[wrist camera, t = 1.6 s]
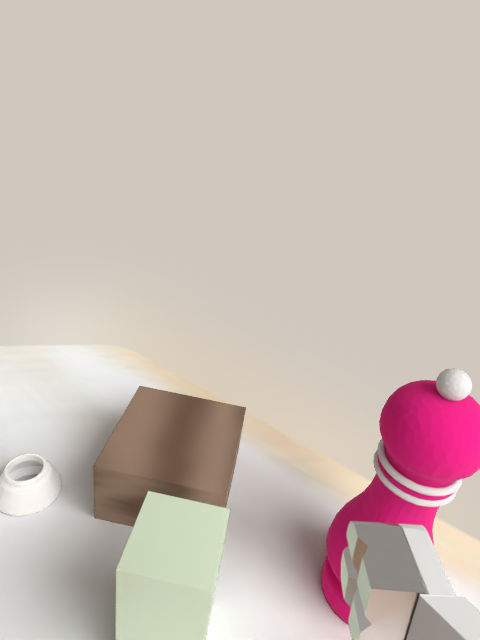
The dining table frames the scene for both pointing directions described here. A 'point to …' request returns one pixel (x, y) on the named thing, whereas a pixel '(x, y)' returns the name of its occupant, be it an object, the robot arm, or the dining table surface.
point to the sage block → (170, 570)
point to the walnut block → (167, 453)
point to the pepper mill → (411, 465)
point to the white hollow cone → (28, 485)
